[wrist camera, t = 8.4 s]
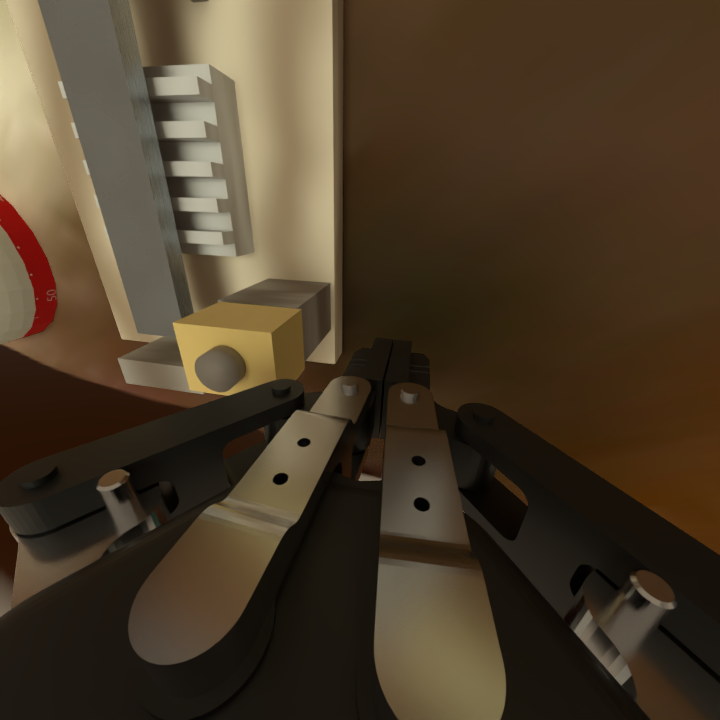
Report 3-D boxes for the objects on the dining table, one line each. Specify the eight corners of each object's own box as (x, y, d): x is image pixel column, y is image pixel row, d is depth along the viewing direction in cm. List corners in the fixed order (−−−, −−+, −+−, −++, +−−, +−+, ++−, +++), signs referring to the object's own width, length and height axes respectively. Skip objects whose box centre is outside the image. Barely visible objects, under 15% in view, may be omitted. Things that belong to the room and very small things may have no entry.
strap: (107, -135, 10) (70, -175, 9) (202, 332, 17) (187, 339, 16) (26, -120, 11) (-18, -157, 10) (150, 326, 18) (133, 333, 17)
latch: (301, 308, 14) (260, 341, 10) (304, 368, 15) (269, 414, 12) (219, 301, 14) (155, 329, 11) (230, 359, 16) (176, 400, 12)
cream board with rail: (344, -123, 13) (256, -477, 6) (342, 352, 23) (307, 410, 16) (19, -76, 16) (-283, -288, 9) (143, 330, 25) (43, 372, 19)
